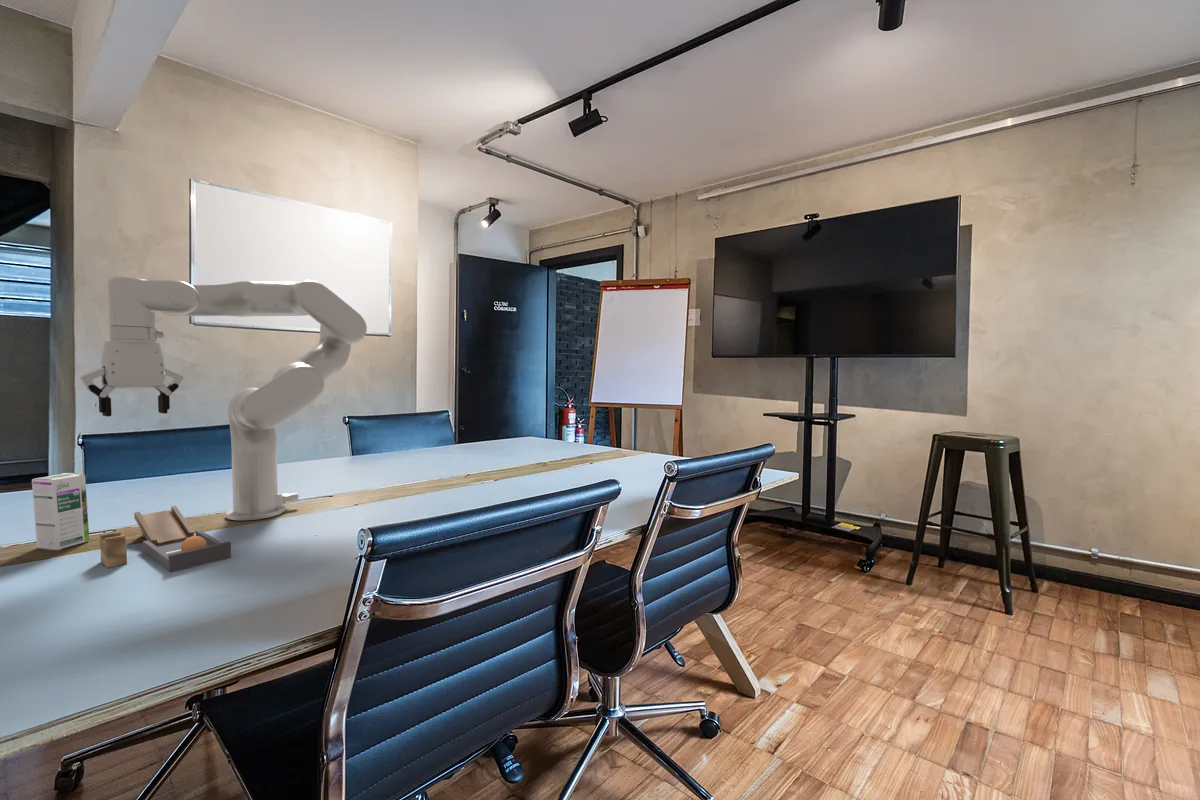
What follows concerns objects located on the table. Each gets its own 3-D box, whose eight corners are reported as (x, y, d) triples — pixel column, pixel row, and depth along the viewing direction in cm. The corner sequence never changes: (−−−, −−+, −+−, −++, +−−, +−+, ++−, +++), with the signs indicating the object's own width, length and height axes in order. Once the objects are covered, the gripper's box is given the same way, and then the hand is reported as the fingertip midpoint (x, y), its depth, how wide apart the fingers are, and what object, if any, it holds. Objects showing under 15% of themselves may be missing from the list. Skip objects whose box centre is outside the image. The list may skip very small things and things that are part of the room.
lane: (200, 539, 116) (199, 525, 116) (231, 557, 106) (230, 542, 106) (143, 550, 109) (142, 536, 109) (170, 572, 99) (170, 556, 98)
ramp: (175, 529, 122) (174, 505, 122) (194, 540, 115) (193, 515, 115) (134, 537, 117) (133, 511, 116) (151, 549, 109) (150, 522, 109)
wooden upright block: (120, 557, 105) (119, 530, 105) (127, 563, 102) (125, 536, 102) (101, 561, 103) (99, 534, 102) (107, 567, 100) (106, 539, 100)
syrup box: (57, 550, 108) (54, 479, 107) (35, 548, 109) (31, 477, 108) (90, 541, 114) (86, 473, 112) (68, 539, 115) (64, 471, 114)
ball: (207, 558, 106) (201, 544, 108) (211, 543, 105) (204, 529, 107) (183, 564, 103) (176, 549, 105) (186, 548, 102) (179, 534, 104)
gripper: (174, 338, 126) (176, 411, 127) (73, 333, 112) (77, 415, 113) (187, 337, 122) (189, 413, 123) (84, 333, 108) (88, 418, 109)
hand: (135, 414), depth 118 cm, fingers open, 9 cm apart
